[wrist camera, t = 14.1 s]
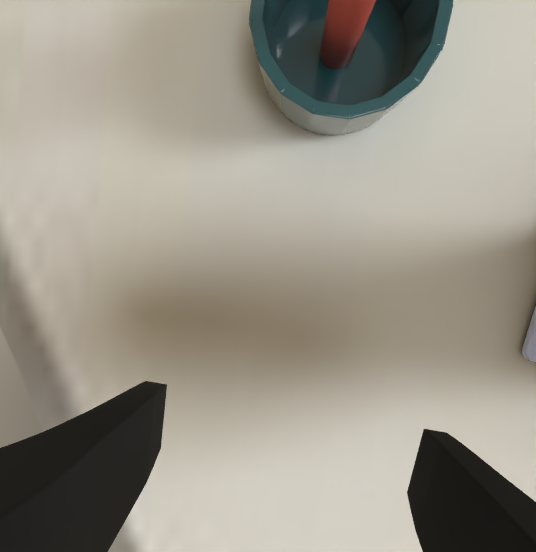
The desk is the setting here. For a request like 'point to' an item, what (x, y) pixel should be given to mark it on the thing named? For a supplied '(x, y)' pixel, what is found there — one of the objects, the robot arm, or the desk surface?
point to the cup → (358, 72)
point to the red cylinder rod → (343, 30)
